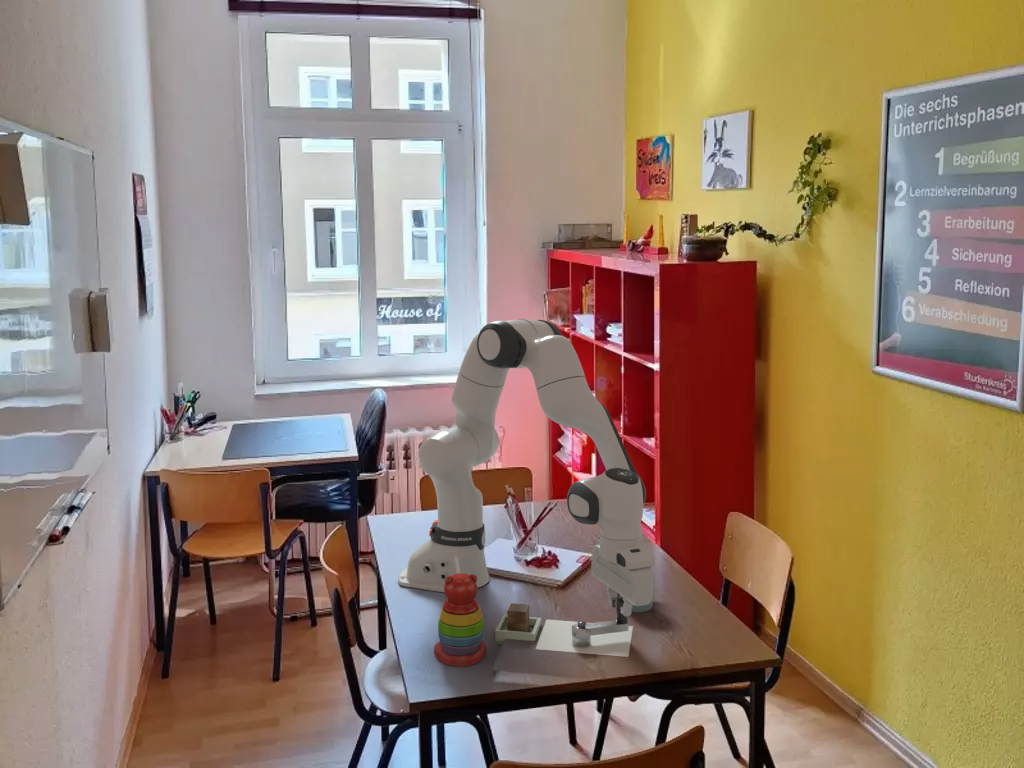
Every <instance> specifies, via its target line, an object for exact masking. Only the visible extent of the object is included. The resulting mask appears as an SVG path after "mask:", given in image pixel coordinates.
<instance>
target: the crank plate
mask: <svg viewBox="0 0 1024 768" xmlns="http://www.w3.org/2000/svg"><path fill="white" fill-rule="evenodd" d="M576 623H578V621H573V620H571V621H570V620H559V619H546V620H545V623H544V625H543V627H542V631H541V633H540V636H539V639H538V641H537V644H536V647H535V650H537V651H539V650H540V651H541V650H542V651H552V652H553V651H554V652H565V653H575V654H576V653H577V654H589V655H592V654H593V655H599V656H601V655H602V656H613V657H623V658H624V657H625V658H628V657H629V655H630V649H631V648H630V647H631V643H632V635H633V630H634V625H628V631H623V632H615V633H608V634H600V635H593V636H591V644H590V645H589V646H585V647H580V646H575V645H573V644H572V625H574V624H576ZM589 623H590V622H586V624H589Z"/></svg>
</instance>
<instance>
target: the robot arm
mask: <svg viewBox="0 0 1024 768" xmlns="http://www.w3.org/2000/svg"><path fill="white" fill-rule="evenodd" d="M524 368H526V369H527V370H529V372H530V373H531V375H532V378H533V381H534V386H535V391H536V393H537V397H538V401H539V403H540V406H541V409H542V411H543V413H544V414H545V416H546V417H548V418H549V419H550V420H551V422H552V421H553V422H554V423H556V424H557V425H560V426H564V427H567V428H572V429H575V430H577V431H580V432H582V433H584V434H586V435H587V436H589V437H590V439H591V440H592V441H593V442H594V445H595V447H596V449H597V451H598V453H599V456H600V458H601V461H602V463H603V465H604V468H605V471H603V473H602V474H599V475H597V476H592V477H587V478H584V479H583V478H582V479H579V480H577V481H574V482H573V483H572V484H571V486H570V487H569V489H568V492H567V497H566V500H567V501H566V505H567V509H568V512H569V513H570V515H571V517H572V518H573V519H574V521H577V522H578V523H580V524H581V525H582V524H584V525H590V526H591V525H593V526H594V525H597V526H598V527H599V528H600V529H599V536H598V537H597V538H596V540H595V545H594V546H593V549H592V556H591V566H590V567H591V574H592V576H594V578H596V579H597V580H598V581H600V582H602V583H603V585H604V584H605V589H606V593H607V597H608V605H609V606H611V608H616V602H617V598H619V596H618V595H619V594H620V595H621V596H623V601H624V604H623V606H621V614H622V615H624V616H628V617H630V616H631V615H632V612H631V609H632V606H633V604H634V605H635V606H642V605H647V604H650V602H651V601H652V598H653V571H654V570H653V568H652V567H654V566H655V562H656V560H655V559H656V558H655V555H654V554H653V553H652V552H651V550H650V549H649V548H648V546H647V545H646V542H645V541H644V540H643V536H644V535H643V530H642V528H643V527H642V523H641V522H642V519H643V515H644V505H645V502H646V498H647V489H646V487H645V484H644V481H643V479H642V478H641V476H640V474H639V473H638V472H637V470H636V468H635V466H634V465H633V462H632V460H631V459H630V457H629V454H628V451H627V450H626V448H625V444H624V443H623V440H622V438H621V435H620V434H619V430H618V428H617V426H616V425H615V422H614V421H613V418H612V416H611V414H610V412H609V410H608V409H607V408H606V406H605V405H604V404H602V403H600V401H598V399H597V398H596V397H595V395H594V393H593V392H592V391H591V390H592V389H591V388H590V387H589V384H588V381H587V378H586V376H585V375H586V374H585V372H584V369H583V366H582V364H581V361H580V359H579V356H578V353H577V352H576V350H575V348H574V346H573V343H572V342H571V341H570V339H568V338H567V337H566V336H564V335H563V334H562V332H561V329H560V328H559V327H558V326H557V325H556V324H554V323H553V322H551V321H547V320H544V319H529V318H518V319H508V320H495V321H492V322H489V323H487V324H485V325H483V327H482V328H480V331H479V332H478V333H477V334H476V335H475V336H474V337H473V338H472V341H471V342H470V344H469V346H468V348H467V350H466V353H465V354H464V358H463V360H462V362H461V365H460V368H459V372H458V375H457V378H456V381H455V385H454V388H453V392H452V395H451V405H452V406H453V407H454V409H455V419H454V422H453V424H452V425H451V427H449V428H446V429H443V430H440V431H437V432H434V433H433V434H432V435H431V436H429V437H427V439H424V441H423V442H422V443H421V444H420V446H419V447H418V452H417V453H418V454H417V459H418V463H419V466H420V468H421V469H422V471H423V472H424V473H425V474H426V475H428V476H429V478H430V479H431V481H432V483H433V486H434V489H435V494H436V502H437V504H436V505H437V519H435V520H434V521H433V523H432V524H431V527H430V528H429V531H428V532H429V533H428V535H429V536H430V538H429V539H428V540H426V541H425V542H423V543H422V544H420V545H419V546H418V547H417V548H416V549H415V550H413V552H412V553H411V554H410V556H409V560H408V564H407V566H406V567H405V568H403V569H402V571H401V572H400V573H399V575H398V584H399V585H400V586H403V587H409V588H412V589H413V588H414V589H419V590H420V589H421V590H426V591H427V590H428V591H433V592H439V593H445V592H444V585H445V579H446V578H447V577H448V576H452V575H454V574H460V573H463V574H468V575H471V574H474V575H476V576H477V581H476V584H477V588H480V587H482V586H485V585H487V583H489V582H490V574H489V571H488V567H487V562H486V556H485V555H486V554H485V546H486V545H485V544H486V530H485V523H484V514H483V513H484V507H483V504H484V499H483V493H482V492H481V490H480V489H479V488H477V487H476V486H475V484H474V481H473V477H472V468H475V467H477V466H479V465H480V466H481V465H482V464H484V463H486V462H487V461H488V460H490V459H491V458H492V457H493V456H494V455H495V454H496V453H497V451H498V448H499V447H500V438H499V434H498V431H497V430H496V427H495V422H496V413H497V408H498V406H499V405H498V404H499V401H500V398H501V396H502V393H503V390H504V386H505V383H506V380H507V376H508V372H509V370H510V369H524ZM652 570H653V571H652ZM617 593H618V594H617Z"/></svg>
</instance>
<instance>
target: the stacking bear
mask: <svg viewBox="0 0 1024 768" xmlns="http://www.w3.org/2000/svg"><path fill="white" fill-rule="evenodd" d="M476 581H477V576H476V575H474V574H471V575H468V574H463V573H460V574H454V575H452V576H448V577H447V578H446V579H445V585H444V592H443V593H444V595H445V598H446V600H445V601H444V602H443V604H442V608H441V610H440V614H439V618H438V624H437V632H438V638H439V641H438V642H436V643H435V644H434V648H433V653H434V655H435V657H436V658H437V659H438V661H440V662H441V663H443V664H445V665H448V666H451V667H458V668H459V667H462V668H463V667H468V666H473V665H475V664H478V663H480V662H481V661H482V660H483V659H484V658H485V656H486V654H487V645H486V642H484V640H483V638H484V632H485V629H484V628H485V626H484V625H485V624H484V617H483V613H482V609H481V606H480V605H479V602H478V601H477V600H476V596H477V593H478V587H477V584H476Z"/></svg>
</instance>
